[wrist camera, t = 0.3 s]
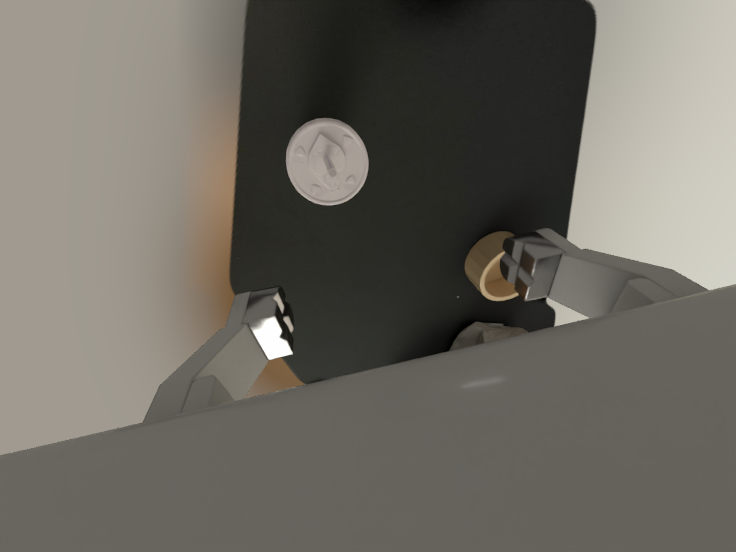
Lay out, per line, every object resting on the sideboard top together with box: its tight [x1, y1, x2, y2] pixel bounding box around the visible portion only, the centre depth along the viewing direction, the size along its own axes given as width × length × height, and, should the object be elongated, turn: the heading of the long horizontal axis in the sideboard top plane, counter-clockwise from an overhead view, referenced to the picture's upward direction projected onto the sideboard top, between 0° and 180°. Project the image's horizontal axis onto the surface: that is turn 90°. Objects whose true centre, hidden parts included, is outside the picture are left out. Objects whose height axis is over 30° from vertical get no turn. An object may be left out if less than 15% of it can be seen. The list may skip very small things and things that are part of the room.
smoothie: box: [286, 118, 368, 205], centre depth 24 cm, size 6×6×14 cm
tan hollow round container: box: [465, 231, 519, 301], centre depth 41 cm, size 9×9×4 cm
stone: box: [449, 322, 528, 351], centre depth 47 cm, size 12×12×15 cm
